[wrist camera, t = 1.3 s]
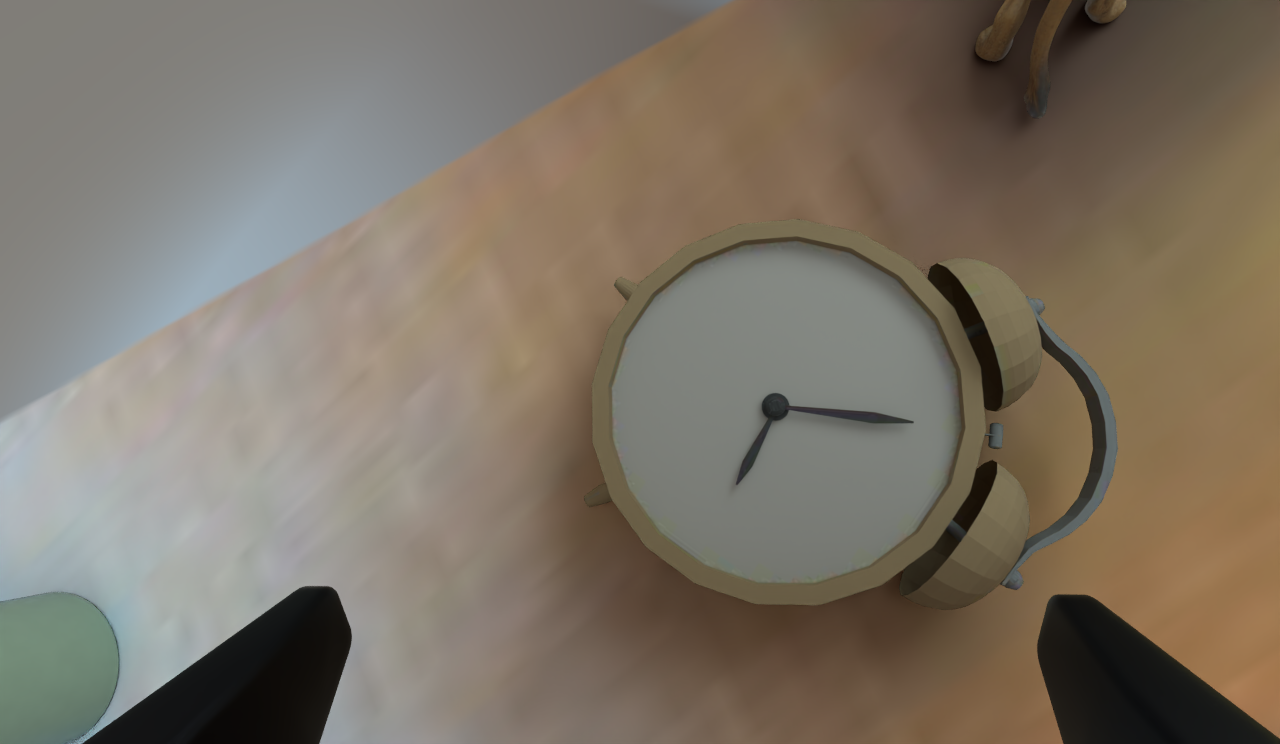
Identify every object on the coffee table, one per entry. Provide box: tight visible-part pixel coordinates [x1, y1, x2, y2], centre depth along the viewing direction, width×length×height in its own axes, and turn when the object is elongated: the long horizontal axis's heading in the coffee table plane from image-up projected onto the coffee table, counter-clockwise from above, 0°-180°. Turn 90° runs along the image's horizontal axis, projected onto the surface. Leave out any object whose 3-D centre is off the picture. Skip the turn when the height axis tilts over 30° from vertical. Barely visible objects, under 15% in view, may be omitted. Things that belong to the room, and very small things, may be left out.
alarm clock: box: [584, 219, 1118, 610], centre depth 22 cm, size 11×5×15 cm
